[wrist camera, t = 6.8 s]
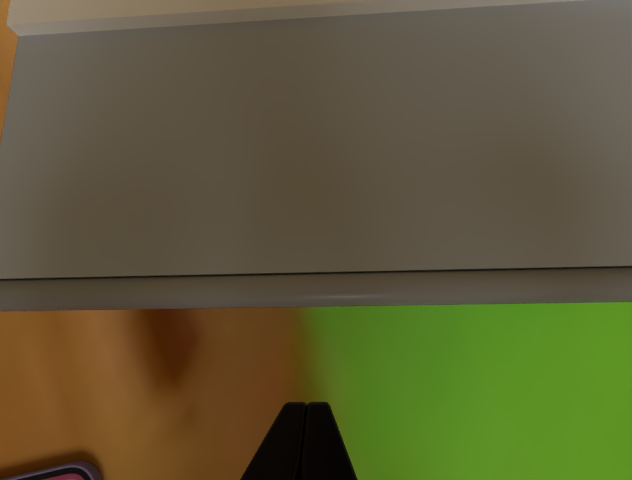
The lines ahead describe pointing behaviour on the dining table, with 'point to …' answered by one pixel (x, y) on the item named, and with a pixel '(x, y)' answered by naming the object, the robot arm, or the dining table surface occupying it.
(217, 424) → the dining table surface
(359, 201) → the duct cover
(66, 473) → the smartphone
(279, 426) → the robot arm
